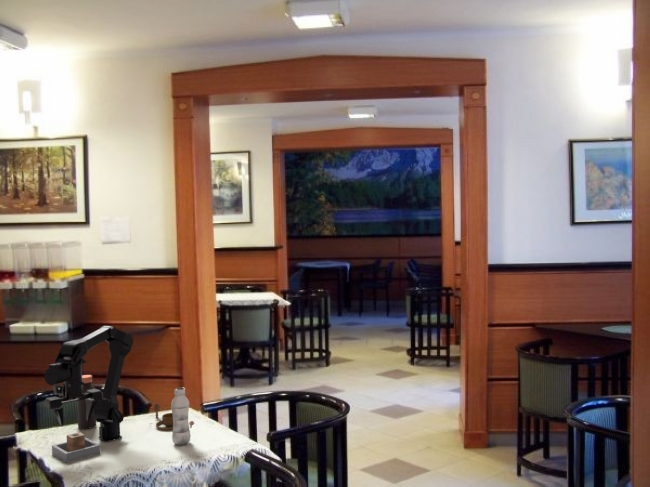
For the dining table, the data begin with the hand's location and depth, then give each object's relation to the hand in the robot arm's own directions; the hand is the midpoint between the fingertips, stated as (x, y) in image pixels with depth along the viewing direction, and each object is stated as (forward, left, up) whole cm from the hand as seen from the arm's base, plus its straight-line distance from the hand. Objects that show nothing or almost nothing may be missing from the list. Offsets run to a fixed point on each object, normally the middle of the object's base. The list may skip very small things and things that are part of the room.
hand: (74, 423), depth 238 cm
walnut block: (0, 0, -10) cm, 10 cm away
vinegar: (-16, -27, -11) cm, 33 cm away
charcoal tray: (0, 0, -11) cm, 11 cm away
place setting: (-42, -7, -12) cm, 44 cm away
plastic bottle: (-31, +18, -11) cm, 38 cm away
